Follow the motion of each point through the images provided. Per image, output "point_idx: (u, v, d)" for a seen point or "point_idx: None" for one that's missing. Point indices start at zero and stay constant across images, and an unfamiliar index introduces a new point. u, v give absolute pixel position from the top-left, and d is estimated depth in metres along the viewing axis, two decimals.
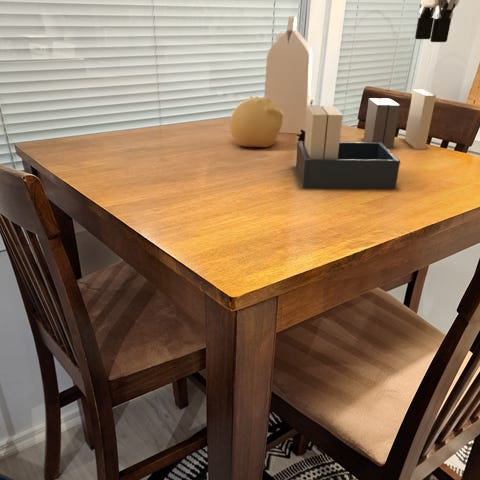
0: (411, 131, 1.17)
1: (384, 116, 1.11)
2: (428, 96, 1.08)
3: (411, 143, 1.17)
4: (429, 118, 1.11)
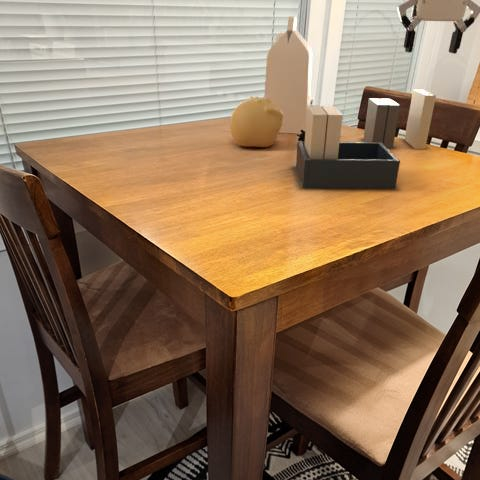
0: (411, 131, 1.17)
1: (384, 116, 1.11)
2: (428, 96, 1.08)
3: (411, 143, 1.17)
4: (429, 118, 1.11)
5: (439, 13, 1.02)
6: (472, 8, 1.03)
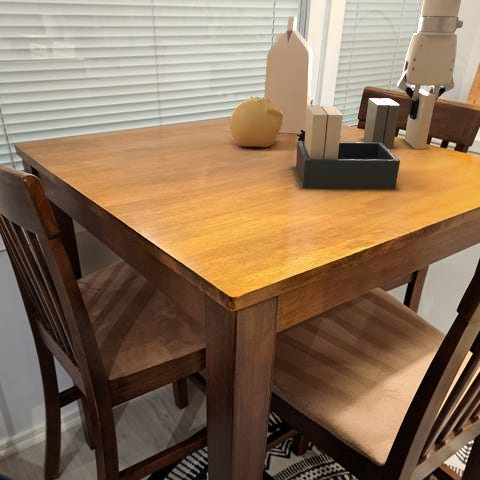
0: (411, 131, 1.17)
1: (384, 116, 1.11)
2: (428, 96, 1.08)
3: (411, 143, 1.17)
4: (429, 118, 1.11)
5: (428, 79, 1.09)
6: None
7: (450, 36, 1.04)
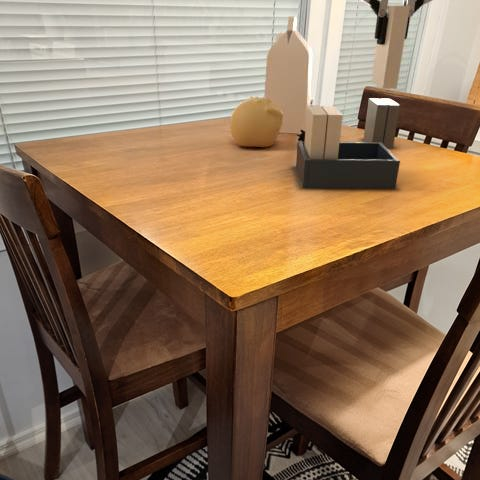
0: (379, 62, 0.87)
1: (384, 116, 1.11)
2: (399, 7, 0.78)
3: (379, 79, 0.87)
4: (401, 40, 0.81)
5: None
6: None
7: None
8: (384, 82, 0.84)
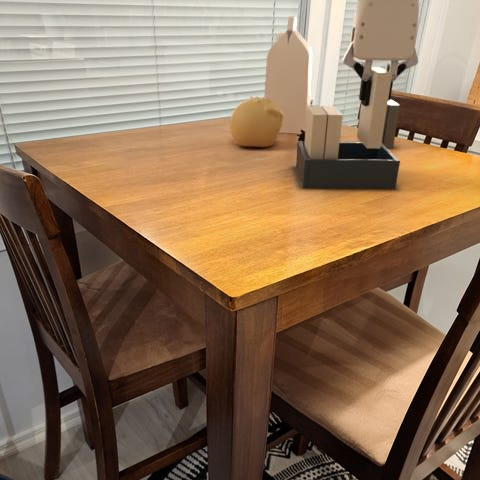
0: (363, 121, 0.89)
1: None
2: (382, 74, 0.81)
3: (364, 137, 0.89)
4: (384, 104, 0.83)
5: (382, 51, 0.81)
6: None
7: None
8: (368, 142, 0.87)
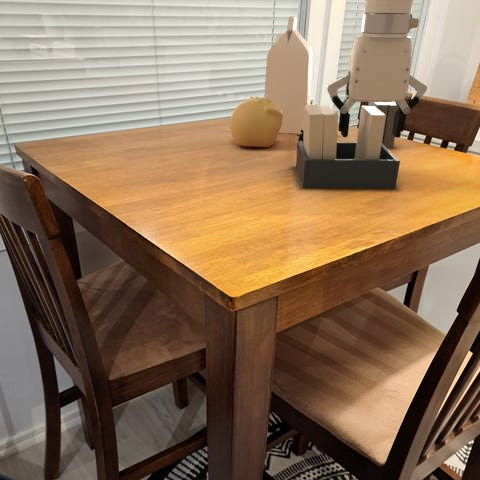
0: (359, 158, 0.93)
1: None
2: (376, 116, 0.84)
3: None
4: (379, 143, 0.87)
5: (376, 94, 0.85)
6: (416, 86, 0.85)
7: (402, 39, 0.80)
8: None
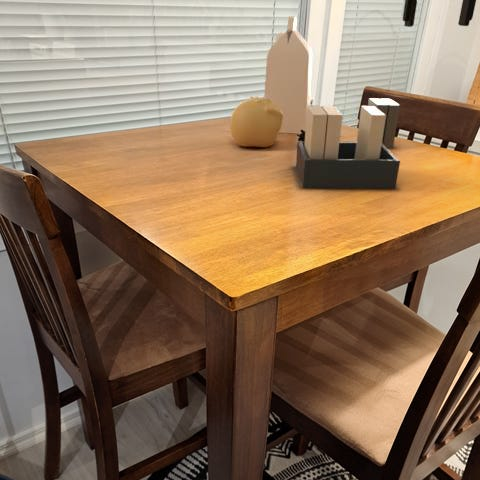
0: (359, 158, 0.93)
1: None
2: (376, 116, 0.84)
3: None
4: (379, 143, 0.87)
5: None
6: None
7: None
8: None
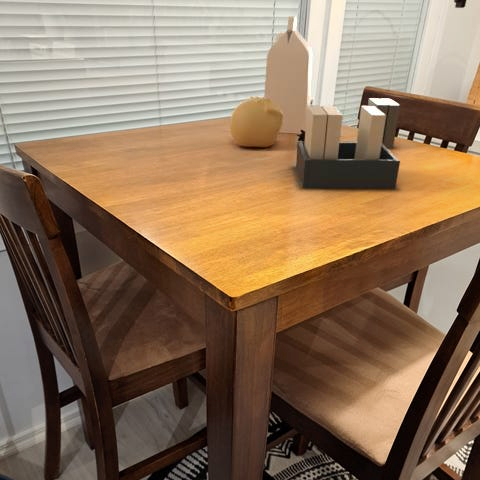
0: (359, 158, 0.93)
1: None
2: (376, 116, 0.84)
3: None
4: (379, 143, 0.87)
5: None
6: None
7: None
8: None
